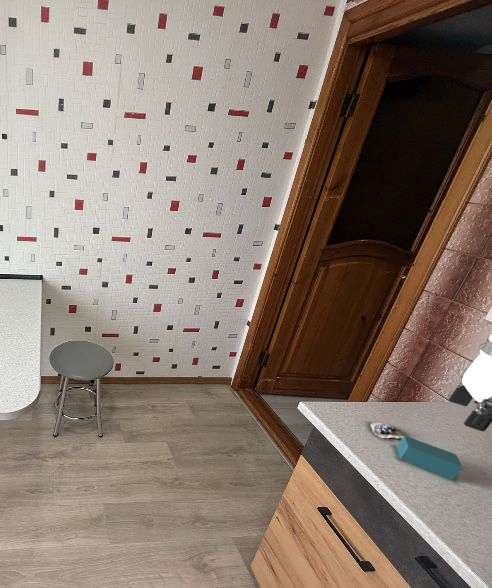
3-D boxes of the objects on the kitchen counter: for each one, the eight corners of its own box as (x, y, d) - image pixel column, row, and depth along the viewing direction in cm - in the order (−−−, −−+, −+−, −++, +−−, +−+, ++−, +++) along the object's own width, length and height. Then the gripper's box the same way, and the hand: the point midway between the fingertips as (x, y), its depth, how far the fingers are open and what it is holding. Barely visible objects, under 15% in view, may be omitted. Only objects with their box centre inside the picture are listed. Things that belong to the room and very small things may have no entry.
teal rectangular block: (446, 466, 84) (456, 454, 82) (453, 480, 80) (463, 467, 78) (395, 447, 88) (403, 435, 87) (399, 459, 85) (408, 446, 83)
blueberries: (408, 438, 92) (411, 433, 91) (390, 445, 89) (393, 440, 88) (381, 421, 97) (384, 416, 97) (363, 426, 95) (366, 421, 94)
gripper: (560, 381, 62) (505, 447, 69) (514, 343, 76) (472, 401, 83) (503, 366, 65) (456, 430, 72) (468, 332, 79) (432, 389, 86)
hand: (464, 414), depth 77 cm, fingers open, 9 cm apart
